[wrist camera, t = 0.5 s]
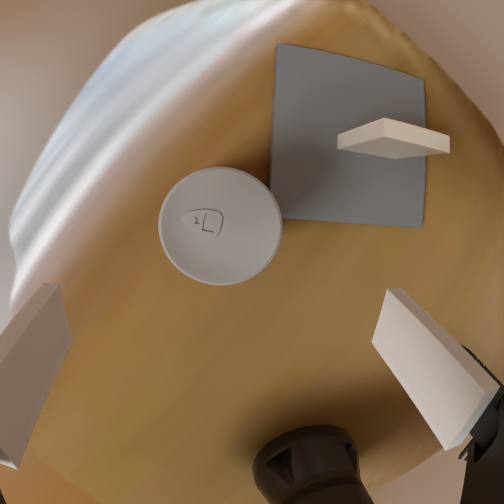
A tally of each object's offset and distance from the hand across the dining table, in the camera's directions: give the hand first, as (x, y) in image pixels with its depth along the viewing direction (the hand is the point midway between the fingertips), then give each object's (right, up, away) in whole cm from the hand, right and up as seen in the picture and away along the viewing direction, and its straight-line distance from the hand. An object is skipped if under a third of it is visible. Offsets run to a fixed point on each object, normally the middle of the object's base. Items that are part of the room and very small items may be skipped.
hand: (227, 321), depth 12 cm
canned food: (-3, +6, +19) cm, 20 cm away
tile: (+13, +13, +18) cm, 26 cm away
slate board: (+12, +15, +19) cm, 27 cm away
